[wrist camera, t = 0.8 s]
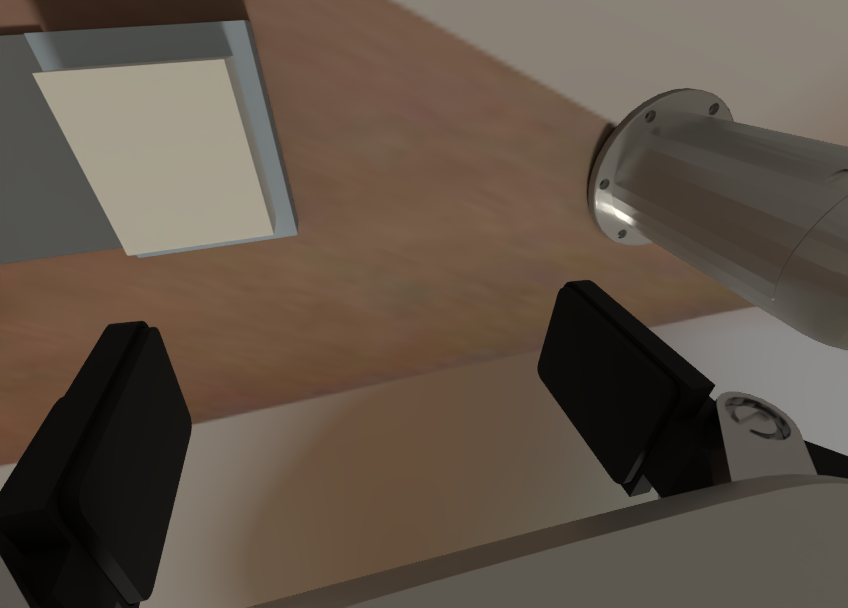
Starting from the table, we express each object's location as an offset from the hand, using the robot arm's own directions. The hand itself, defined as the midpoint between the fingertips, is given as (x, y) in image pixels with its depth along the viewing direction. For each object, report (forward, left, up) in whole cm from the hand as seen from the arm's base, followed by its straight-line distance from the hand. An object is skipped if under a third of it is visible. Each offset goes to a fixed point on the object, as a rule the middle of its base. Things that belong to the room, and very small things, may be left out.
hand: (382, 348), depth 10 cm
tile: (+8, -1, -18) cm, 20 cm away
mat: (+19, -1, -22) cm, 29 cm away
